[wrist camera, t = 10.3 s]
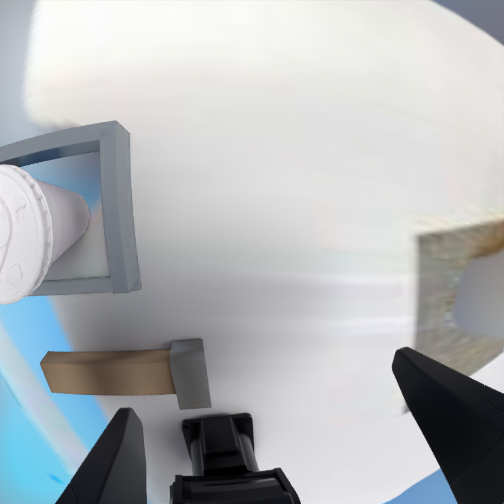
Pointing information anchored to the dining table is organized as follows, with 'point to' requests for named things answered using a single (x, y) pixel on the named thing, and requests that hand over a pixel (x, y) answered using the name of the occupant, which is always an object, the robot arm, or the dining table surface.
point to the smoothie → (34, 229)
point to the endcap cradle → (112, 192)
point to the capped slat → (133, 373)
